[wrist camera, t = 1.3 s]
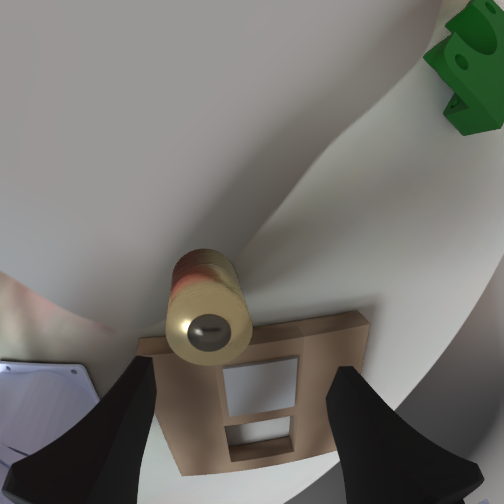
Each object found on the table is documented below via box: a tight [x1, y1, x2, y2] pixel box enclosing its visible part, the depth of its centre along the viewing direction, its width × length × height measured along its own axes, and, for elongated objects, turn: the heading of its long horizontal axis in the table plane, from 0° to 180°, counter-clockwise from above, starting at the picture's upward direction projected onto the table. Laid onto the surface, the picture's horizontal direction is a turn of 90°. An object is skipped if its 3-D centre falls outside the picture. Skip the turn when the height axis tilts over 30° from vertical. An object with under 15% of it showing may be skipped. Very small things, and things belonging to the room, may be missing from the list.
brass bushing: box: [165, 249, 253, 366], centre depth 16 cm, size 4×4×6 cm
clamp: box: [423, 0, 504, 136], centre depth 14 cm, size 12×6×9 cm, turn 137°
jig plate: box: [136, 310, 370, 476], centre depth 23 cm, size 16×16×2 cm
